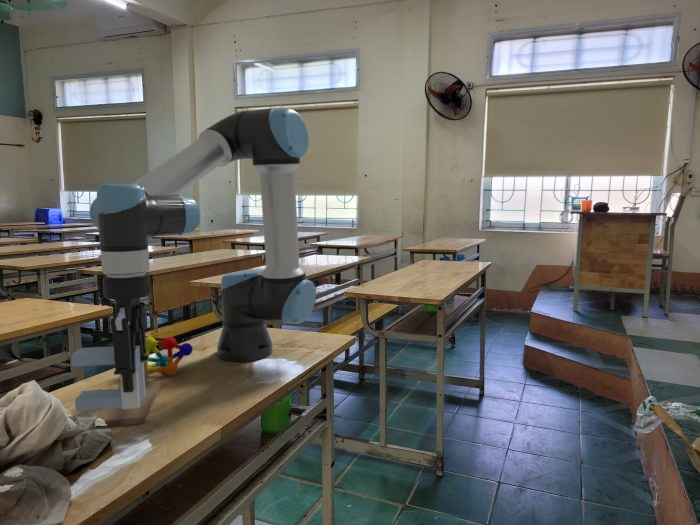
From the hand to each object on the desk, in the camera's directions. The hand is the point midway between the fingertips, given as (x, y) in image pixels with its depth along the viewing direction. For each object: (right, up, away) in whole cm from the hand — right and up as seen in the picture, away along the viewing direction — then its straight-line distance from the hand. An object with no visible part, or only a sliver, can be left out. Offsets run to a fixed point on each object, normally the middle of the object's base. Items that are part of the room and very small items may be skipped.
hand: (134, 401), depth 88 cm
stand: (-8, -5, +16) cm, 19 cm away
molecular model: (-9, -3, +36) cm, 37 cm away
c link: (-4, 0, -1) cm, 4 cm away
